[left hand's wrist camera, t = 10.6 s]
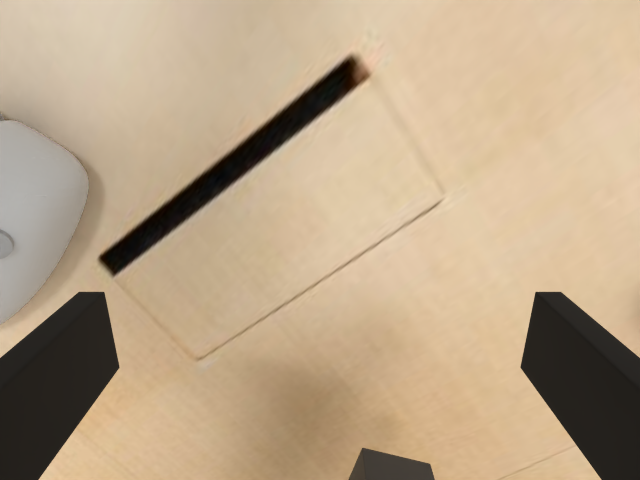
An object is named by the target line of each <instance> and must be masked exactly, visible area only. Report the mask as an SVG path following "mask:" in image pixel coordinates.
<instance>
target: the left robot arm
mask: <svg viewBox="0 0 640 480" xmlns="http://www.w3.org/2000/svg"><path fill="white" fill-rule="evenodd" d="M118 369H119V363H118V358H117V353H116V348H115V343H114V338H113V333H112V328H111V323H110V318H109V313H108V308H107V303H106V298H105V293H104V292H79V293H77V294H76V295H75V296H74V297H73V298H71V299H70V300H69V301H68V302H67V303H65V304H64V305H63V306H62V307H61V308H59V309H58V310H57V311H56V312H55V313H53V314H52V315H51V316H50V317H49V318H47V319H46V320H45V321H44V322H43V323H42V324H40V325H39V326H38V327H37V328H36V329H34V330H33V331H32V332H31V333H30V334H28V335H27V336H26V337H25V338H24V339H22V340H21V341H20V342H19V343H18V344H16V345H15V346H14V347H13V348H12V349H10V350H9V351H8V352H7V353H6V354H5V355H3V356H2V357H1V358H0V480H38V479H39V478H40V477H41V475H42V474H43V473H44V471H45V470H46V468H47V467H48V466H49V464H50V463H51V461H52V460H53V459H54V457H55V456H56V455H57V453H58V452H59V450H60V449H61V448H62V446H63V445H64V443H65V442H66V441H67V439H68V438H69V437H70V435H71V434H72V432H73V431H74V430H75V428H76V427H77V425H78V424H79V423H80V421H81V420H82V419H83V417H84V416H85V414H86V413H87V412H88V410H89V409H90V408H91V406H92V405H93V403H94V402H95V401H96V399H97V398H98V396H99V395H100V394H101V392H102V391H103V390H104V388H105V387H106V385H107V384H108V383H109V381H110V380H111V378H112V377H113V376H114V374H115V373H116V372H117V370H118ZM521 369H522V370H523V372H524V373H525V374H526V376H527V377H528V378H529V380H530V381H531V383H532V384H533V385H534V387H535V388H536V390H537V391H538V392H539V394H540V395H541V396H542V398H543V399H544V401H545V402H546V403H547V405H548V406H549V408H550V409H551V410H552V412H553V413H554V414H555V416H556V417H557V419H558V420H559V421H560V423H561V424H562V426H563V427H564V428H565V430H566V431H567V432H568V434H569V435H570V437H571V438H572V439H573V441H574V442H575V443H576V445H577V446H578V448H579V449H580V450H581V452H582V453H583V455H584V456H585V457H586V459H587V460H588V461H589V463H590V464H591V466H592V467H593V468H594V470H595V471H596V473H597V474H598V475H599V477H600V478H601V479H602V480H640V358H639V357H638V356H637V355H635V354H634V353H633V352H632V351H631V350H629V349H628V348H627V347H626V346H625V345H624V344H622V343H621V342H620V341H619V340H618V339H616V338H615V337H614V336H613V335H612V334H610V333H609V332H608V331H607V330H606V329H604V328H603V327H602V326H601V325H600V324H598V323H597V322H596V321H595V320H594V319H593V318H591V317H590V316H589V315H588V314H587V313H585V312H584V311H583V310H582V309H581V308H579V307H578V306H577V305H576V304H575V303H573V302H572V301H571V300H570V299H569V298H567V297H566V296H565V295H564V294H563V293H561V292H536V293H535V298H534V303H533V308H532V313H531V318H530V323H529V328H528V333H527V338H526V343H525V348H524V353H523V358H522V363H521Z"/></svg>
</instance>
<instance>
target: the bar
mask: <svg viewBox="0 0 640 480" xmlns="http://www.w3.org/2000/svg"><path fill="white" fill-rule="evenodd" d="M349 480H435V479H434V476H433V472H432V469H431V465H430V464H429V463H424V462H420V461H416V460H412V459H408V458H403V457H399V456H395V455H391V454H387V453H382V452H378V451H374V450H370V449H366V448H362V450H361V452H360V455H359V457H358V459H357V461H356V464H355V466H354V468H353V471H352V473H351V475H350V477H349Z"/></svg>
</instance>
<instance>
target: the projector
mask: <svg viewBox="0 0 640 480" xmlns="http://www.w3.org/2000/svg"><path fill="white" fill-rule="evenodd" d="M88 190H89V179H88V176H87V173H86V171H85V169H84V167H83V166H82V164H81V163H80V162H79V161H78V159H77V158H76V157H75V156H74V155H72V154H71V153H70V152H69V151H68V150H66V149H65V148H63V147H62V146H60V145H59V144H58V143H56V142H54V141H53V140H51V139H49V138H48V137H46V136H44V135H42V134H41V133H39V132H37V131H35V130H34V129H32V128H30V127H28V126H26V125H24V124H23V123H21V122H18V121H14V120H6V121H5V119H4V117H3V116H2V114H1V113H0V325H1V324H2V323H4V322H5V321H7V320H8V319H9V318H11V317H12V316H13V315H14V314H16V313H17V312H18V311H19V310H20V309H21V308H22V307H24V306H25V305H26V304H27V303H28V302H29V301H30V299H31V298H32V297H33V296H34V295H35V294H36V293H37V292H38V291H39V289H40V288H41V287H42V286H43V284H44V283H45V282H46V280H47V279H48V278H49V276H50V275H51V273H52V272H53V270H54V269H55V267H56V266H57V264H58V262H59V261H60V259H61V257H62V256H63V254H64V252H65V250H66V248H67V246H68V244H69V242H70V240H71V238H72V236H73V234H74V232H75V230H76V227H77V225H78V223H79V220H80V218H81V215H82V213H83V210H84V207H85V203H86V200H87V195H88Z"/></svg>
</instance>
